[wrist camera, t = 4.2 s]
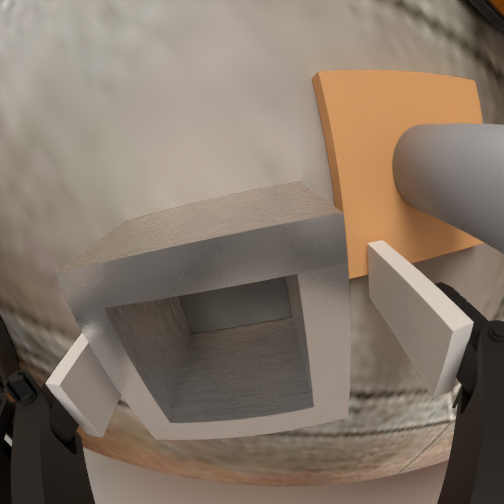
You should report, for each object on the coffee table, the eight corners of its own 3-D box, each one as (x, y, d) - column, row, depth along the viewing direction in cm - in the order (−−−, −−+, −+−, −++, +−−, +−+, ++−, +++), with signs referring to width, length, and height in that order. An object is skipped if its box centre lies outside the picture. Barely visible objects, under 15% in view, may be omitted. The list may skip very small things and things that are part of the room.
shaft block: (341, 268, 13) (413, 374, 6) (311, 78, 10) (390, 4, 3) (473, 235, 13) (561, 291, 6) (461, 82, 10) (565, 73, 3)
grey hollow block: (178, 354, 15) (155, 439, 10) (127, 220, 12) (55, 274, 7) (318, 330, 15) (348, 417, 9) (298, 181, 12) (343, 212, 6)
